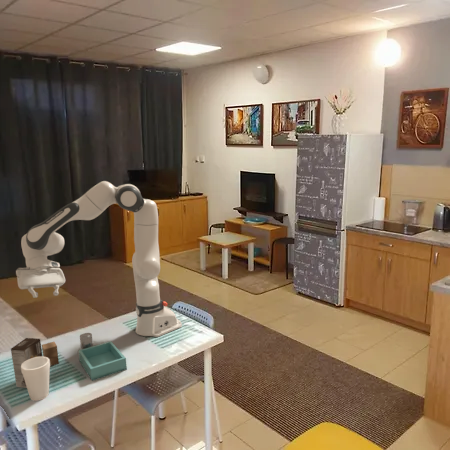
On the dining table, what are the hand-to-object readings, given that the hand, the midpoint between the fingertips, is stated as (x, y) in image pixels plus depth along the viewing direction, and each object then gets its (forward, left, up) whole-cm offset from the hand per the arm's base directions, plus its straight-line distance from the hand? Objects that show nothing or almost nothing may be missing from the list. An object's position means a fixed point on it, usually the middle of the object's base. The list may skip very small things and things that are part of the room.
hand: (46, 296), depth 179 cm
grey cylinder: (-13, +8, -27) cm, 31 cm away
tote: (-15, +23, -26) cm, 38 cm away
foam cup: (+11, +30, -27) cm, 42 cm away
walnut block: (+2, +8, -27) cm, 28 cm away
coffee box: (+12, +18, -27) cm, 35 cm away
